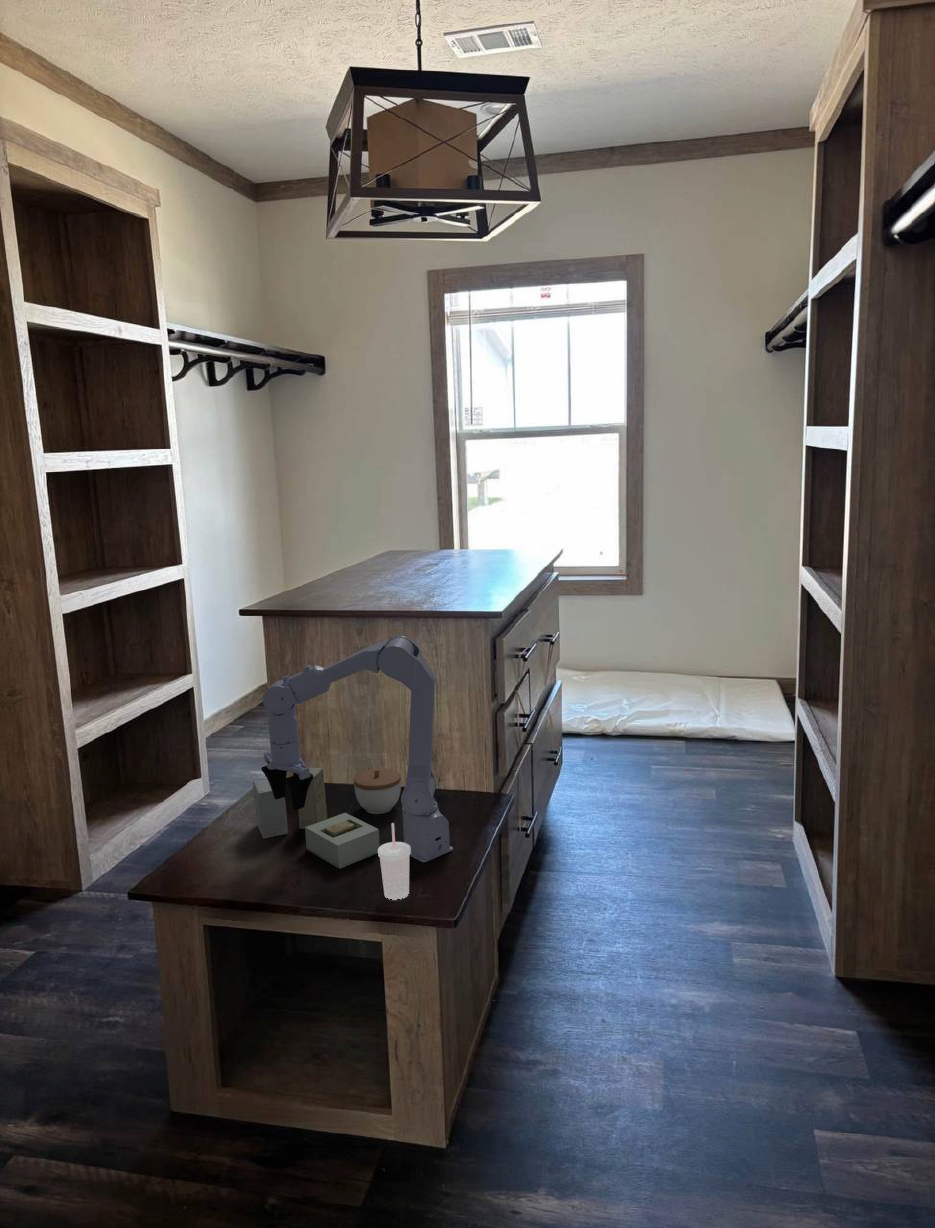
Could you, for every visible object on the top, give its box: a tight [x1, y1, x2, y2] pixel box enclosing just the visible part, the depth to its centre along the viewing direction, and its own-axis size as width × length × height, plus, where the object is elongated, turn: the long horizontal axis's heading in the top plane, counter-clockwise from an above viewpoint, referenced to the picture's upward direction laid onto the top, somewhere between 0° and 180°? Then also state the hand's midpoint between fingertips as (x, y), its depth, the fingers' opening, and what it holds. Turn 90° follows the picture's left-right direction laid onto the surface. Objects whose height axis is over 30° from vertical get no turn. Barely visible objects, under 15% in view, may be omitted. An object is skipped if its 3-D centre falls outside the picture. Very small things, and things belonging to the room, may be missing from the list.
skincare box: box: [297, 766, 328, 830], centre depth 197 cm, size 6×4×12 cm
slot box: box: [304, 812, 381, 869], centre depth 184 cm, size 12×10×5 cm
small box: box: [252, 778, 289, 840], centre depth 195 cm, size 8×6×10 cm
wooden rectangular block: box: [326, 821, 355, 838], centre depth 184 cm, size 3×5×5 cm, turn 134°
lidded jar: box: [353, 767, 402, 815], centre depth 205 cm, size 11×11×9 cm
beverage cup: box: [377, 822, 411, 901], centre depth 165 cm, size 6×6×14 cm
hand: (289, 803), depth 184 cm, fingers open, 7 cm apart
